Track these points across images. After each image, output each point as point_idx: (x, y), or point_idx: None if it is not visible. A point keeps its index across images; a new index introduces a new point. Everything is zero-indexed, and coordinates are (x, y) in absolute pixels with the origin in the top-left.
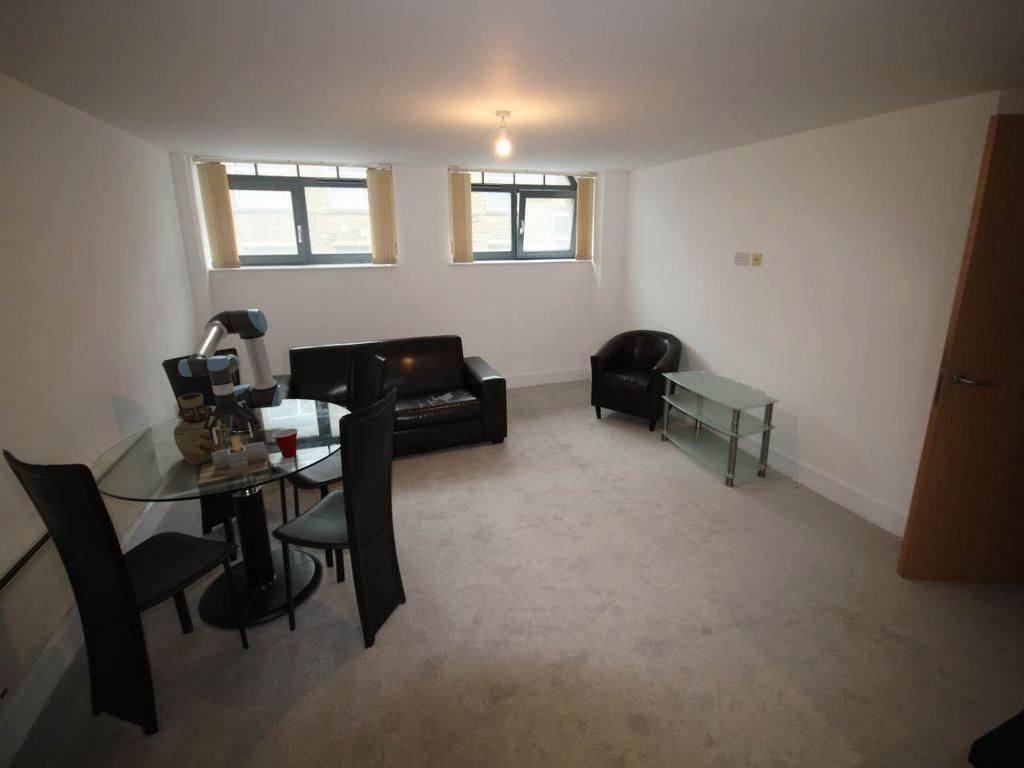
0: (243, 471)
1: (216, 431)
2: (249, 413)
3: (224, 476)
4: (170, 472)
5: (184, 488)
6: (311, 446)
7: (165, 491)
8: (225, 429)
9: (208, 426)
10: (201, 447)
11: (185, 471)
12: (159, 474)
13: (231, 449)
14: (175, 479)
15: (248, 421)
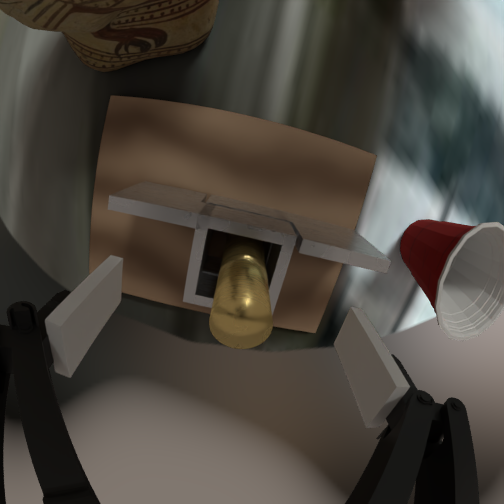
0: None
1: None
2: (421, 498)
3: (168, 288)
4: (36, 78)
5: (59, 258)
6: (485, 219)
7: (21, 238)
8: None
9: (10, 364)
10: (98, 33)
11: (66, 97)
12: (15, 78)
13: (214, 228)
14: (37, 156)
15: (380, 440)
